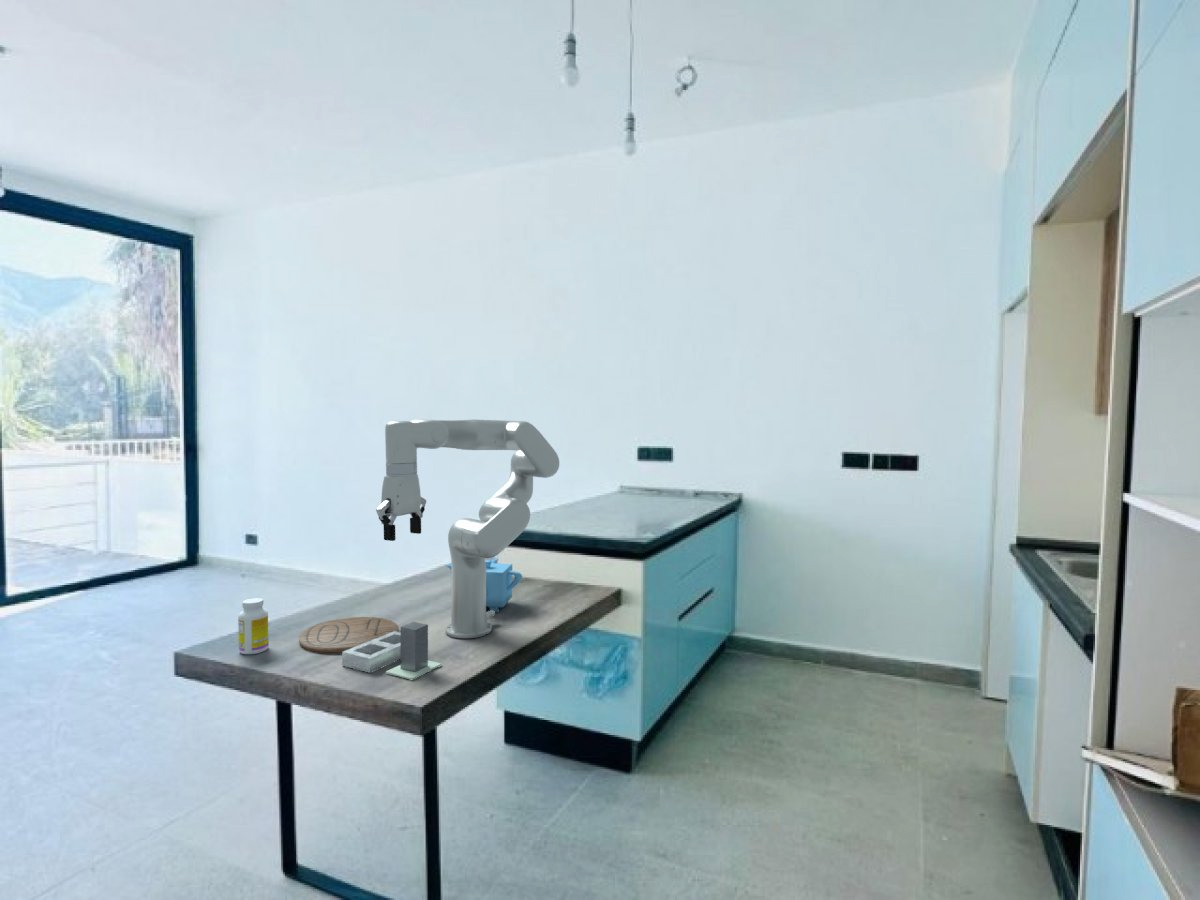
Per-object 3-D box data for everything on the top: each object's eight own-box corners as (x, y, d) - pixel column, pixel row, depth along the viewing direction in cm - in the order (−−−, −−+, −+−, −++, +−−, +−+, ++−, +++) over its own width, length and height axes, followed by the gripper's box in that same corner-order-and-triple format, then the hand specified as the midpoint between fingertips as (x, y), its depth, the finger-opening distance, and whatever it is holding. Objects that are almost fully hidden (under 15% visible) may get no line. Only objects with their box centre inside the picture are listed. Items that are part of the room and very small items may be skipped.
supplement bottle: (273, 645, 168) (272, 596, 167) (260, 655, 161) (260, 604, 160) (247, 645, 167) (246, 596, 167) (233, 655, 161) (232, 604, 160)
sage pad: (416, 659, 160) (416, 657, 160) (441, 666, 156) (441, 663, 156) (385, 674, 151) (385, 671, 151) (411, 680, 147) (411, 678, 147)
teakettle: (526, 608, 203) (526, 562, 203) (472, 619, 191) (473, 570, 191) (495, 595, 218) (495, 552, 217) (443, 604, 206) (443, 559, 205)
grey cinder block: (394, 644, 170) (394, 631, 170) (420, 650, 166) (420, 636, 166) (342, 666, 155) (342, 651, 155) (369, 673, 151) (369, 658, 151)
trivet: (395, 619, 191) (395, 613, 191) (401, 648, 168) (401, 641, 168) (302, 628, 182) (302, 621, 182) (295, 660, 159) (295, 652, 159)
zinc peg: (413, 662, 156) (413, 621, 156) (427, 665, 154) (427, 624, 154) (400, 668, 152) (400, 627, 152) (415, 672, 150) (415, 630, 150)
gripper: (412, 466, 173) (413, 529, 175) (365, 472, 158) (366, 541, 159) (435, 467, 170) (436, 531, 172) (389, 473, 155) (390, 544, 156)
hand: (403, 536), depth 165 cm, fingers open, 9 cm apart
